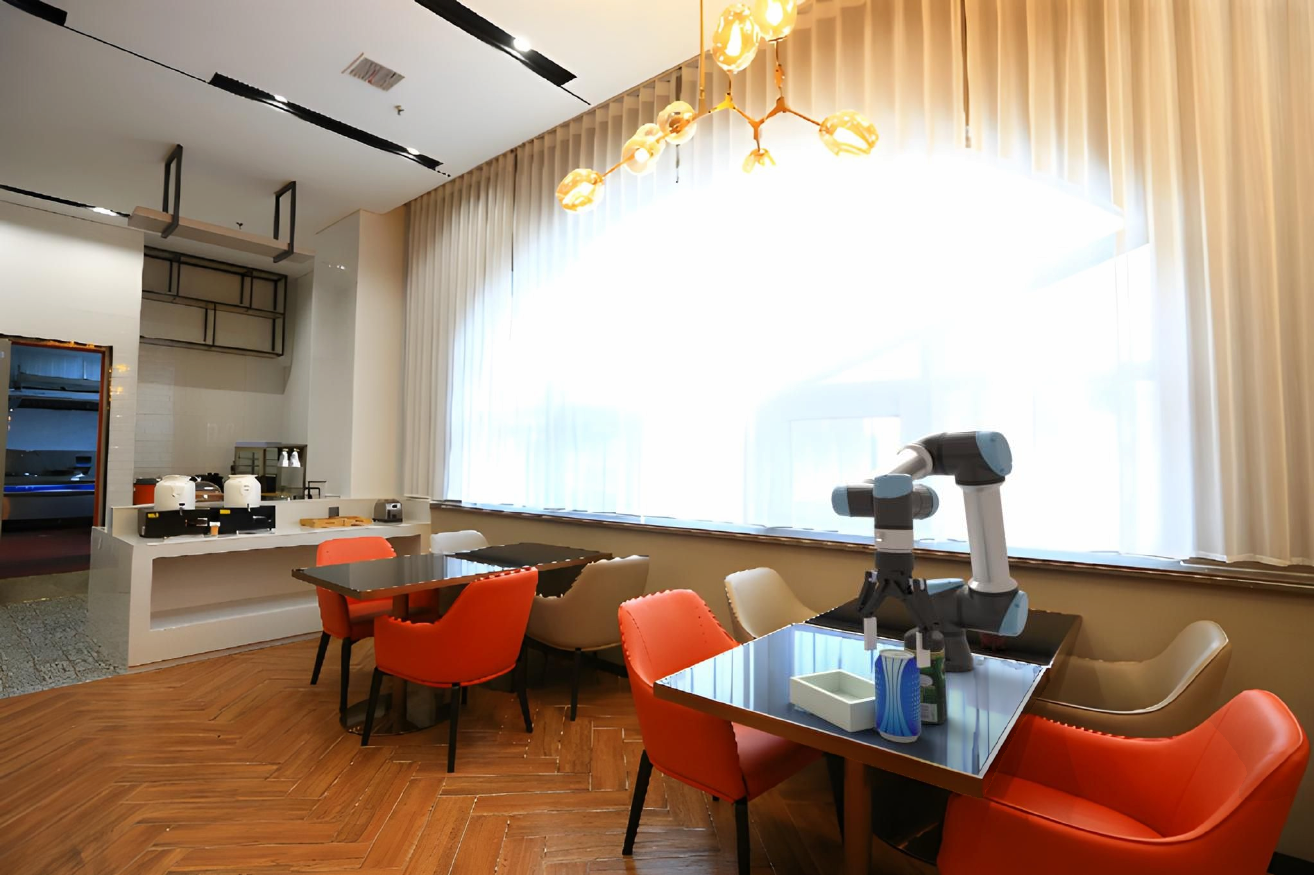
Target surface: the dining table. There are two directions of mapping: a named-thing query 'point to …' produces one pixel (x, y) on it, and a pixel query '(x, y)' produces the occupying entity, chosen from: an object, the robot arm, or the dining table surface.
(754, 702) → the dining table surface
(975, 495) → the robot arm
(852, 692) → the tote
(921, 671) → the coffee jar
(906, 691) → the beer can
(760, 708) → the dining table surface
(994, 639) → the mate gourd
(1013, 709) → the dining table surface
